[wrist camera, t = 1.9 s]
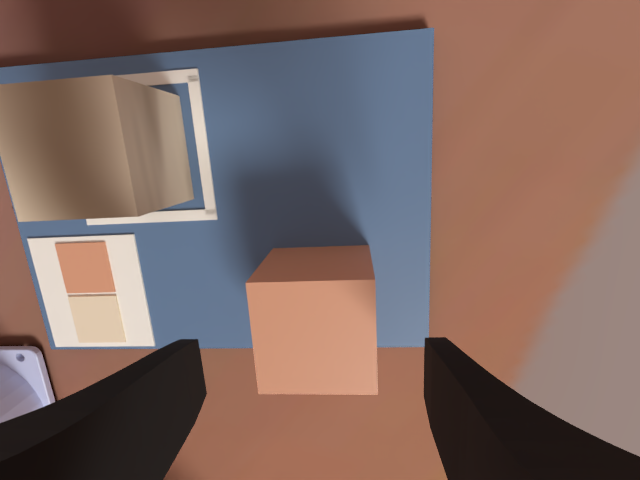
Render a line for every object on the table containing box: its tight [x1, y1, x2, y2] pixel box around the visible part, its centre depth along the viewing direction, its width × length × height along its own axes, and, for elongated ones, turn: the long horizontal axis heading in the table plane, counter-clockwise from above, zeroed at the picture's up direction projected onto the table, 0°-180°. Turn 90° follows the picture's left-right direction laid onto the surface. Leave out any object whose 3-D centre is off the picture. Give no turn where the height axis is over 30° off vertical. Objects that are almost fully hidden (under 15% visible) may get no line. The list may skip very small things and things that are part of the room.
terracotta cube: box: [246, 245, 378, 395], centre depth 15 cm, size 4×4×4 cm
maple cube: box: [0, 75, 194, 222], centre depth 14 cm, size 4×4×4 cm
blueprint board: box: [0, 28, 434, 349], centre depth 17 cm, size 20×14×1 cm
